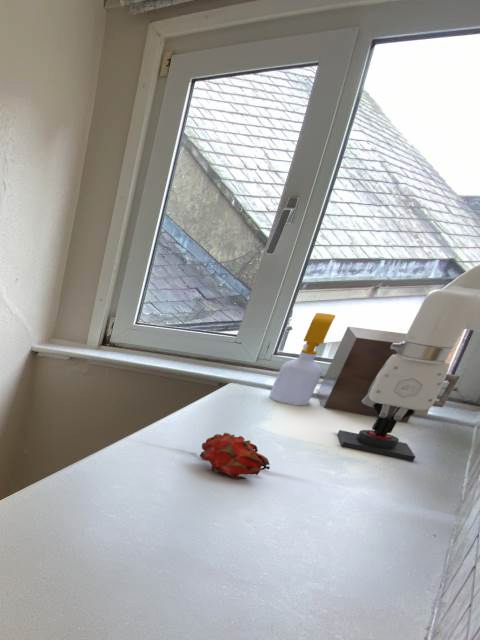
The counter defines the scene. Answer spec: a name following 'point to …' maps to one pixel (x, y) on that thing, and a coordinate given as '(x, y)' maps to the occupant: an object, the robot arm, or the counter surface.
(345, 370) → the cupboard
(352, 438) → the red and black buzzer
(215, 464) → the dragon fruit
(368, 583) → the counter surface
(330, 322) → the soap bottle
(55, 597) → the counter surface
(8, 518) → the counter surface
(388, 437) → the button
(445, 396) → the door
